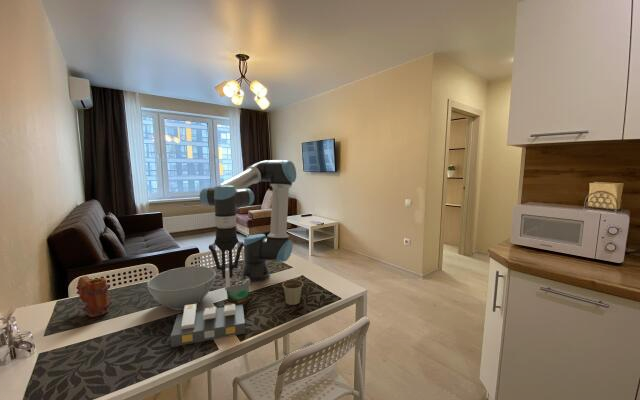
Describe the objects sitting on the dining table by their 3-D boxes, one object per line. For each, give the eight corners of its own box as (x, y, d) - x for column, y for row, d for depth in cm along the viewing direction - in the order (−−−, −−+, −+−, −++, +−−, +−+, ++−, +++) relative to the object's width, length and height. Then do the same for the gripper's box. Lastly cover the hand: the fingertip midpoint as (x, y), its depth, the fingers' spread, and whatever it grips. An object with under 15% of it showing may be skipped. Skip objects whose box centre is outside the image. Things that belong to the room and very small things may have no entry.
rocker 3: (224, 309, 106) (224, 305, 106) (235, 308, 107) (235, 303, 107) (224, 316, 96) (224, 311, 96) (235, 314, 98) (235, 309, 98)
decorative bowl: (227, 302, 119) (226, 276, 118) (160, 328, 100) (158, 297, 98) (201, 284, 137) (200, 262, 136) (141, 303, 118) (139, 277, 117)
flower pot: (300, 308, 115) (300, 289, 114) (279, 306, 117) (279, 287, 116) (305, 298, 124) (305, 280, 123) (286, 296, 126) (286, 278, 125)
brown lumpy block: (116, 310, 112) (114, 276, 110) (95, 321, 104) (91, 284, 102) (93, 304, 116) (90, 271, 115) (71, 314, 109) (67, 279, 107)
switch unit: (178, 324, 103) (177, 311, 102) (242, 313, 111) (242, 302, 110) (171, 347, 89) (170, 333, 89) (245, 333, 97) (244, 320, 97)
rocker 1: (185, 308, 101) (184, 305, 100) (196, 307, 102) (196, 303, 102) (181, 329, 92) (181, 325, 92) (194, 327, 94) (193, 323, 93)
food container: (235, 311, 112) (234, 288, 111) (225, 307, 115) (224, 285, 114) (256, 299, 123) (256, 278, 121) (247, 295, 126) (246, 275, 125)
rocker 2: (205, 312, 103) (205, 308, 103) (216, 310, 105) (216, 306, 105) (203, 319, 94) (203, 314, 94) (215, 317, 95) (215, 312, 95)
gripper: (206, 229, 95) (209, 292, 98) (244, 227, 100) (245, 287, 102) (208, 225, 102) (210, 283, 105) (243, 223, 107) (244, 279, 109)
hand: (227, 285), depth 104 cm, fingers closed
